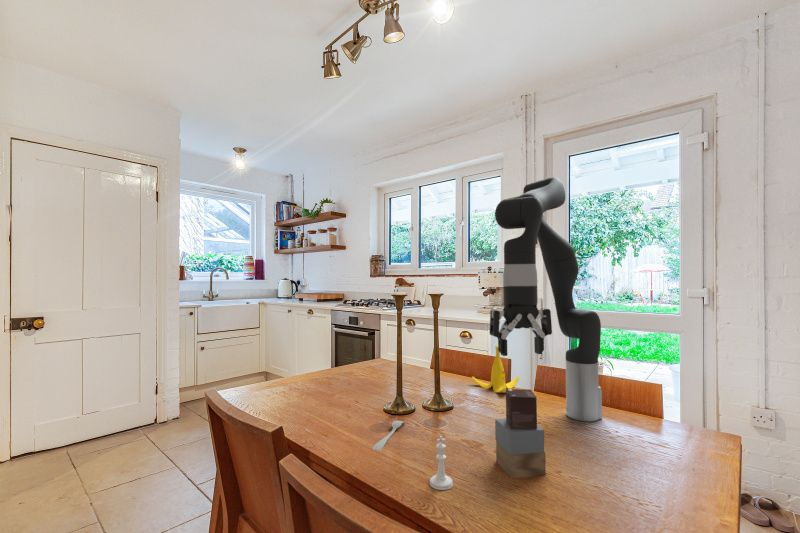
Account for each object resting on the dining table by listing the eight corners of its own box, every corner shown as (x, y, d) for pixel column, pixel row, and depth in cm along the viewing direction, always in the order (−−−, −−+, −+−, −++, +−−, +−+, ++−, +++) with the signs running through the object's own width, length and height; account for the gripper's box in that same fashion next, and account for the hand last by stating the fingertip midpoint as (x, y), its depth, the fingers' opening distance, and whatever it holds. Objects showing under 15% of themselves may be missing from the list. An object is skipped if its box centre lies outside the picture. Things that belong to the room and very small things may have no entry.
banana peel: (519, 385, 157) (519, 343, 157) (505, 398, 141) (505, 351, 141) (480, 379, 166) (480, 340, 166) (463, 391, 150) (462, 347, 150)
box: (537, 430, 86) (537, 397, 86) (509, 429, 87) (509, 396, 87) (531, 420, 92) (531, 389, 92) (505, 419, 93) (505, 388, 93)
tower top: (526, 437, 94) (526, 416, 94) (544, 452, 86) (544, 429, 87) (495, 440, 93) (495, 419, 93) (510, 455, 85) (510, 432, 85)
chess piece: (427, 478, 85) (427, 432, 85) (450, 477, 85) (449, 431, 86) (431, 490, 80) (431, 441, 80) (455, 489, 80) (454, 440, 81)
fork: (370, 459, 99) (370, 449, 99) (400, 421, 119) (399, 413, 119) (380, 461, 98) (380, 450, 98) (408, 423, 118) (408, 414, 117)
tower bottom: (527, 458, 94) (526, 437, 94) (545, 475, 86) (545, 452, 86) (496, 462, 92) (496, 440, 93) (512, 479, 85) (512, 455, 85)
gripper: (539, 283, 95) (541, 350, 95) (484, 284, 92) (485, 352, 92) (557, 284, 88) (558, 356, 87) (497, 284, 85) (498, 359, 85)
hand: (521, 354), depth 90 cm, fingers open, 8 cm apart
